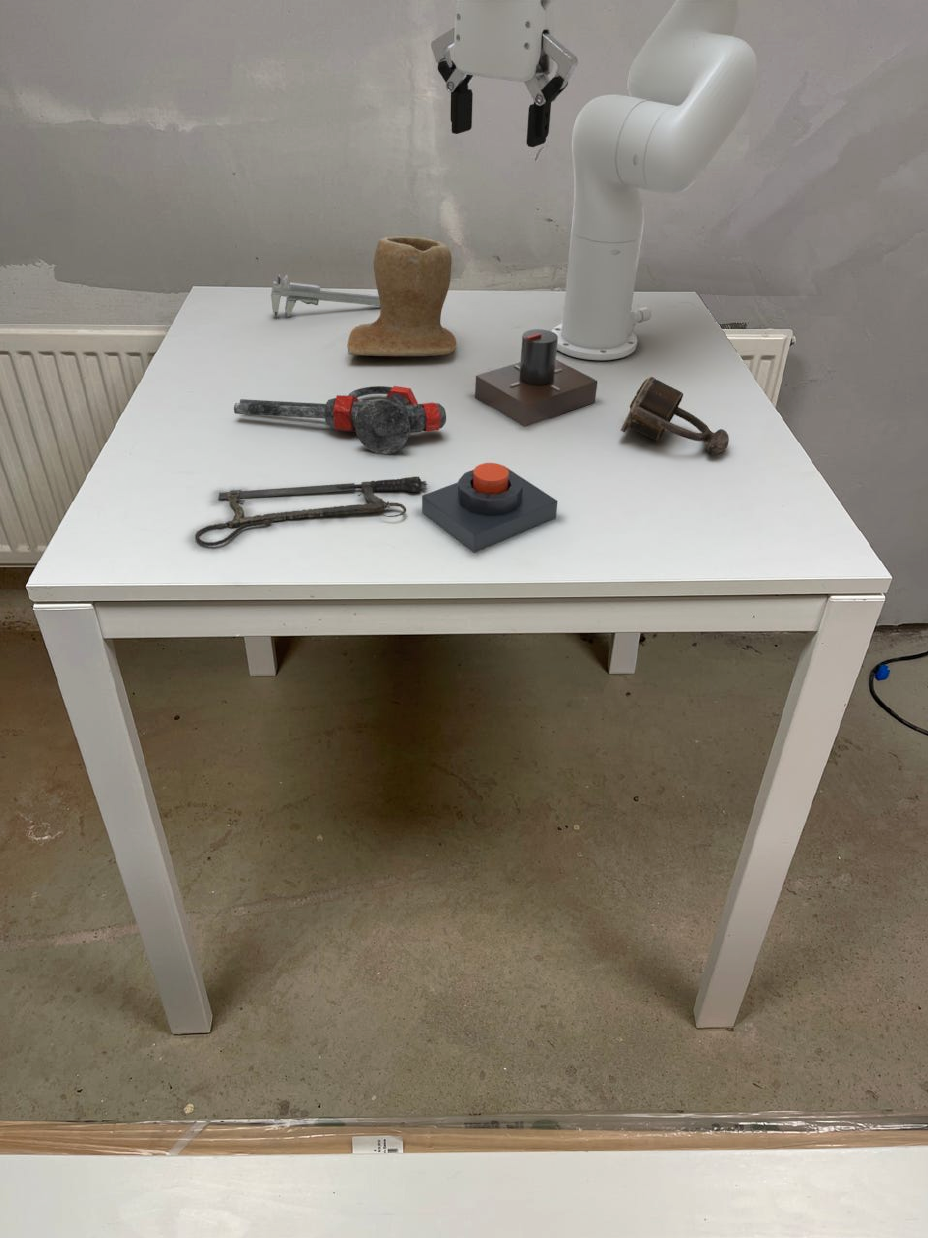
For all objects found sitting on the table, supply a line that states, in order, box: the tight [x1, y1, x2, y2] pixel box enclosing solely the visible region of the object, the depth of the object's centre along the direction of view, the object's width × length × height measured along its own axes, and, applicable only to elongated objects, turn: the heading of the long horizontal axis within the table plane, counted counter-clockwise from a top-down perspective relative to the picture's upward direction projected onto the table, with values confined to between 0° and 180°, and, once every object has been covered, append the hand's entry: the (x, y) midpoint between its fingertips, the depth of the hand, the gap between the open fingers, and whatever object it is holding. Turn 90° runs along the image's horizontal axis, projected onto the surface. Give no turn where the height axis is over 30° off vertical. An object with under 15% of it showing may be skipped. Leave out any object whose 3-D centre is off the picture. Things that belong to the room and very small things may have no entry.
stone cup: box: [346, 236, 458, 357], centre depth 123 cm, size 15×12×15 cm
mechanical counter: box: [620, 376, 730, 455], centre depth 106 cm, size 7×13×10 cm
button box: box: [421, 465, 558, 554], centre depth 94 cm, size 11×9×4 cm
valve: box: [233, 385, 447, 455], centre depth 109 cm, size 6×26×15 cm
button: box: [473, 462, 509, 494], centre depth 92 cm, size 4×4×2 cm
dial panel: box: [474, 359, 598, 427], centre depth 115 cm, size 12×10×3 cm
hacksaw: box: [194, 476, 428, 547], centre depth 94 cm, size 24×10×2 cm, turn 97°
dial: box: [519, 328, 558, 385], centre depth 112 cm, size 4×4×6 cm
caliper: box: [270, 273, 380, 319], centre depth 136 cm, size 20×1×6 cm, turn 109°
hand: (498, 137), depth 99 cm, fingers open, 9 cm apart
